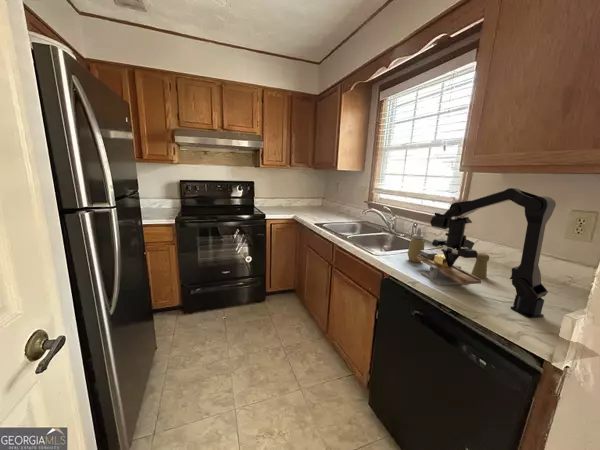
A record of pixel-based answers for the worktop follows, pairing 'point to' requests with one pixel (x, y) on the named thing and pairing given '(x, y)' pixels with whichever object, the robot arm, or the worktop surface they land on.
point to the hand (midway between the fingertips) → (449, 266)
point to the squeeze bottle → (416, 246)
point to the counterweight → (428, 254)
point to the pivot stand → (440, 276)
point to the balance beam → (453, 272)
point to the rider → (440, 260)
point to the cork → (480, 266)
